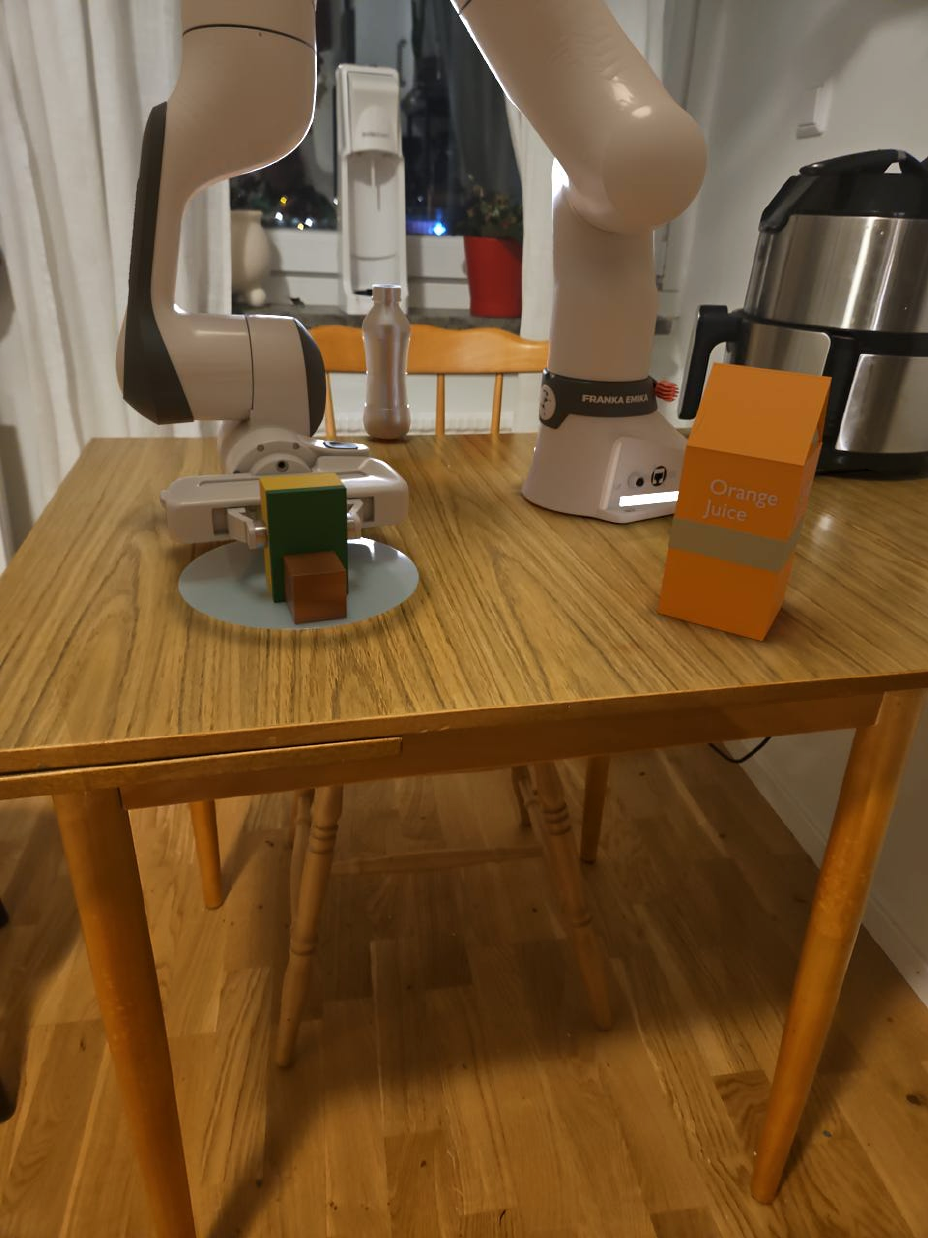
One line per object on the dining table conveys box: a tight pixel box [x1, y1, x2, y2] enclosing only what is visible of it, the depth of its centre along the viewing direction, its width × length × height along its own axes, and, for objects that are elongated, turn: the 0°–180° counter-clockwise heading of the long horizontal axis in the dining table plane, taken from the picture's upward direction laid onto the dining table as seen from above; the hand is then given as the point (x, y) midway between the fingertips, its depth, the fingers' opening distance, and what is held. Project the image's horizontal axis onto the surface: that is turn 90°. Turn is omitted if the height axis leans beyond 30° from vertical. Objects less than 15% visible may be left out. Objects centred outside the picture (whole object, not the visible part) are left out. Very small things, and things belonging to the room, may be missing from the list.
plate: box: [177, 537, 420, 631], centre depth 69 cm, size 20×20×1 cm
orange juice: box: [656, 361, 833, 642], centre depth 65 cm, size 8×9×20 cm
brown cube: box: [283, 551, 347, 624], centre depth 62 cm, size 4×4×4 cm
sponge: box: [259, 473, 349, 603], centre depth 64 cm, size 6×4×9 cm, turn 111°
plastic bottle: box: [361, 284, 412, 441], centre depth 110 cm, size 6×7×20 cm
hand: (307, 535), depth 63 cm, fingers closed on sponge, 6 cm apart
